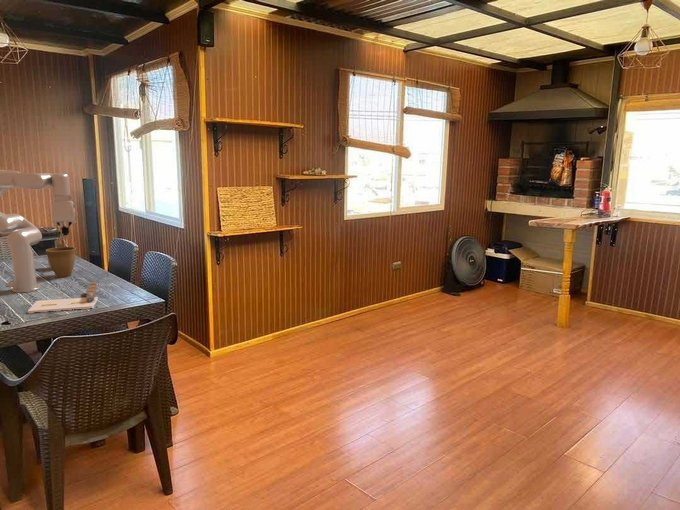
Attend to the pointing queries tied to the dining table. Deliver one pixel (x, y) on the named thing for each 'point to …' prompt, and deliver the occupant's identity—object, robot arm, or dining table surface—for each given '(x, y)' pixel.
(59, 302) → the label plate
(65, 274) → the plant pot
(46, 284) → the dining table surface
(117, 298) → the dining table surface
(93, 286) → the bar
